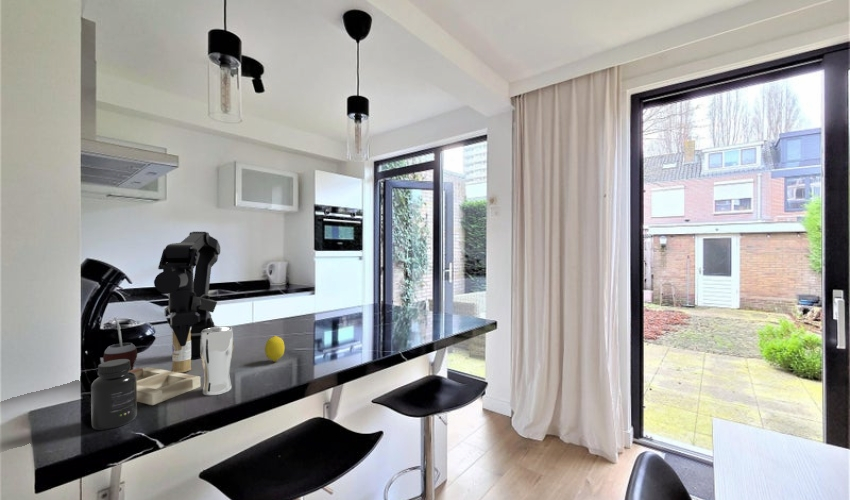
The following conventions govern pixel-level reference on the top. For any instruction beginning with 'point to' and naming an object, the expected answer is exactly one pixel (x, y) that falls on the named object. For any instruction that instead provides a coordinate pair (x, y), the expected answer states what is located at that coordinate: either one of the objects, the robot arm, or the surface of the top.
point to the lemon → (274, 348)
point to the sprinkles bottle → (181, 355)
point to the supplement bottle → (113, 395)
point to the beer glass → (216, 359)
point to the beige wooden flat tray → (162, 384)
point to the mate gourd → (121, 350)
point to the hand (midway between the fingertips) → (181, 344)
